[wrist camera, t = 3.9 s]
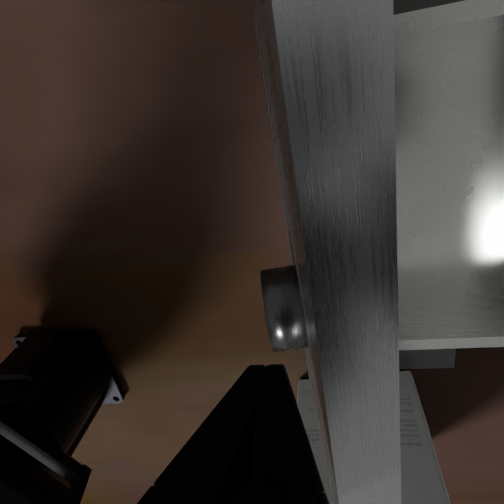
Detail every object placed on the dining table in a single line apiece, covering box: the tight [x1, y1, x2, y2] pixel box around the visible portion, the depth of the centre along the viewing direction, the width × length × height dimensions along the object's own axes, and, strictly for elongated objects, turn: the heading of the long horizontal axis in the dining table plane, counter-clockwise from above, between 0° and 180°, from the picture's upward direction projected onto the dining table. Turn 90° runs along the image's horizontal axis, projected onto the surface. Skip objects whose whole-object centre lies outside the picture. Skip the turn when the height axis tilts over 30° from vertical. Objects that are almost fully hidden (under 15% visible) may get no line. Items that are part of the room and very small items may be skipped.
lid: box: [254, 0, 401, 504], centre depth 12 cm, size 15×10×2 cm
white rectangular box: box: [393, 0, 504, 369], centre depth 17 cm, size 17×10×4 cm, turn 10°
